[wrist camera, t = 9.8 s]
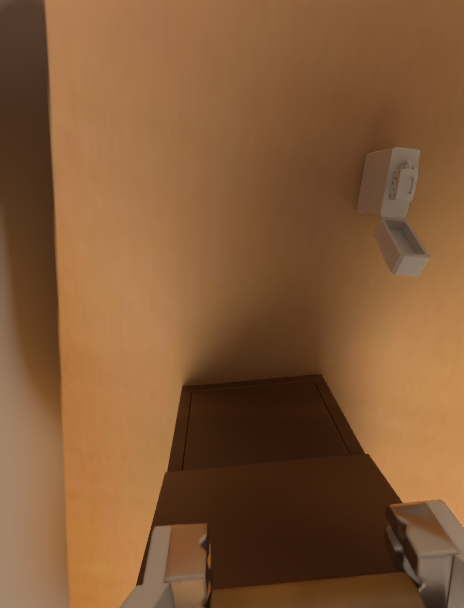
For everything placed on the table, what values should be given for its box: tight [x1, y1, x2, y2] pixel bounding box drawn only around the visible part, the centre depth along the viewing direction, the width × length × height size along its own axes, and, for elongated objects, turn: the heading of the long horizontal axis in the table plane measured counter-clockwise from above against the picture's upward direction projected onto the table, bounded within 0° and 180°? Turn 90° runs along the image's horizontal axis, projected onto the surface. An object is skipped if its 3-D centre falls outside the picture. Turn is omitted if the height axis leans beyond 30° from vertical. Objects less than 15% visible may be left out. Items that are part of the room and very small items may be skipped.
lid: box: [136, 454, 426, 608], centre depth 14 cm, size 14×12×5 cm
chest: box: [167, 374, 365, 472], centre depth 29 cm, size 13×12×10 cm
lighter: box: [356, 147, 430, 276], centre depth 24 cm, size 7×2×8 cm, turn 175°
